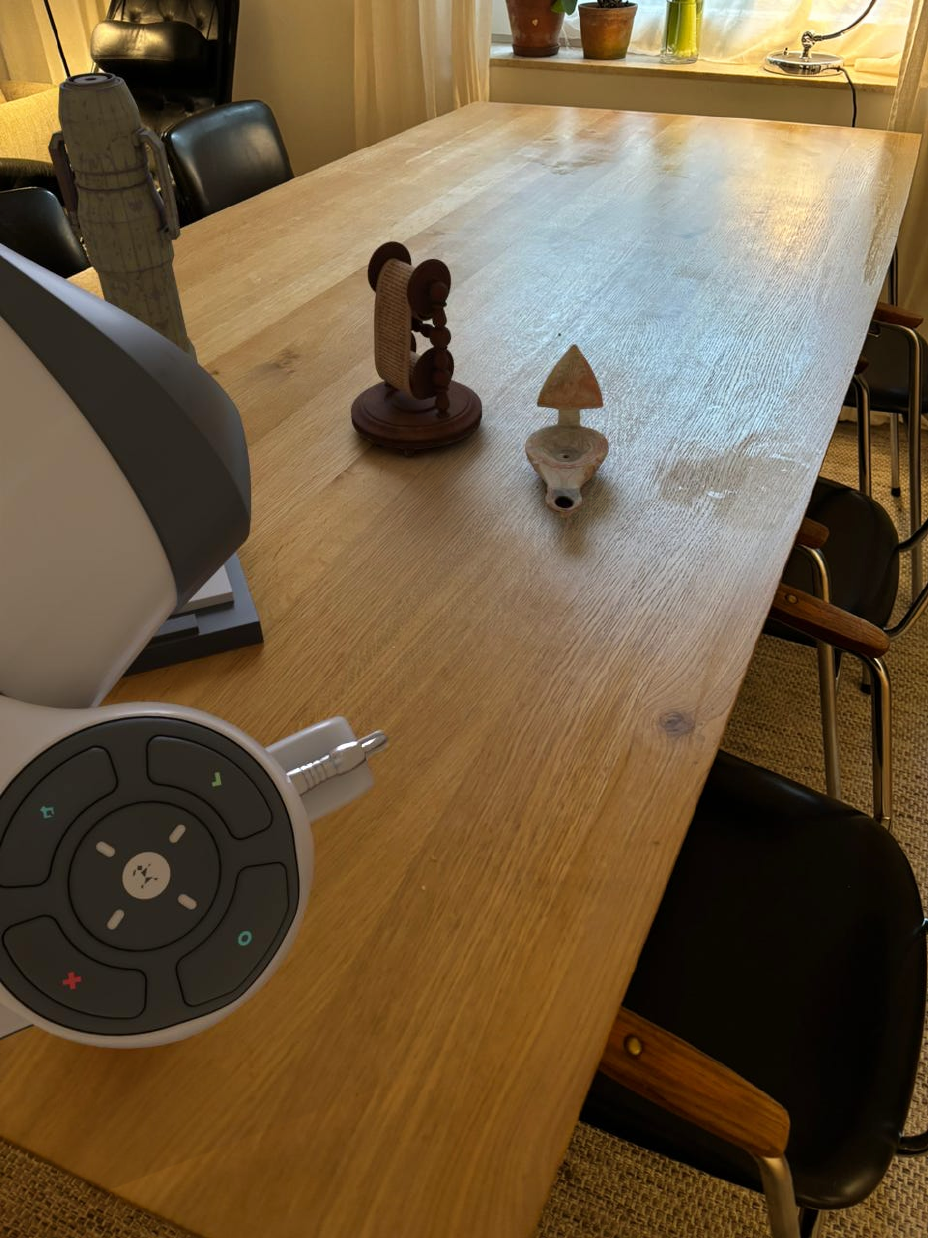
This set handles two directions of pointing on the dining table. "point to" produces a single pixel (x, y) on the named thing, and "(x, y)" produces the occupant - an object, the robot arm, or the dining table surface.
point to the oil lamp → (567, 433)
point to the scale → (205, 623)
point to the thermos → (120, 200)
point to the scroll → (412, 359)
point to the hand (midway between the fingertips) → (151, 849)
